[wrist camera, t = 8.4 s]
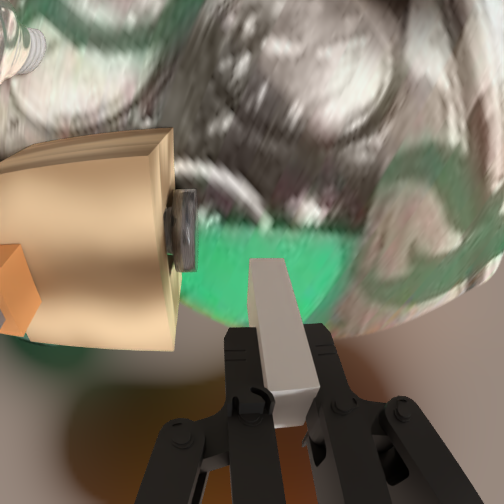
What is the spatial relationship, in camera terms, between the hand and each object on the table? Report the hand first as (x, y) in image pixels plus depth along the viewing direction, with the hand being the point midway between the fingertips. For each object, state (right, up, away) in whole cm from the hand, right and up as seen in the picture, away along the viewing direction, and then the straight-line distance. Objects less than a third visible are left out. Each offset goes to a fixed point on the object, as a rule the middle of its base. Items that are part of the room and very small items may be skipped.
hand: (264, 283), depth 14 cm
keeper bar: (-15, 0, 0) cm, 15 cm away
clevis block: (-11, +4, +7) cm, 14 cm away
